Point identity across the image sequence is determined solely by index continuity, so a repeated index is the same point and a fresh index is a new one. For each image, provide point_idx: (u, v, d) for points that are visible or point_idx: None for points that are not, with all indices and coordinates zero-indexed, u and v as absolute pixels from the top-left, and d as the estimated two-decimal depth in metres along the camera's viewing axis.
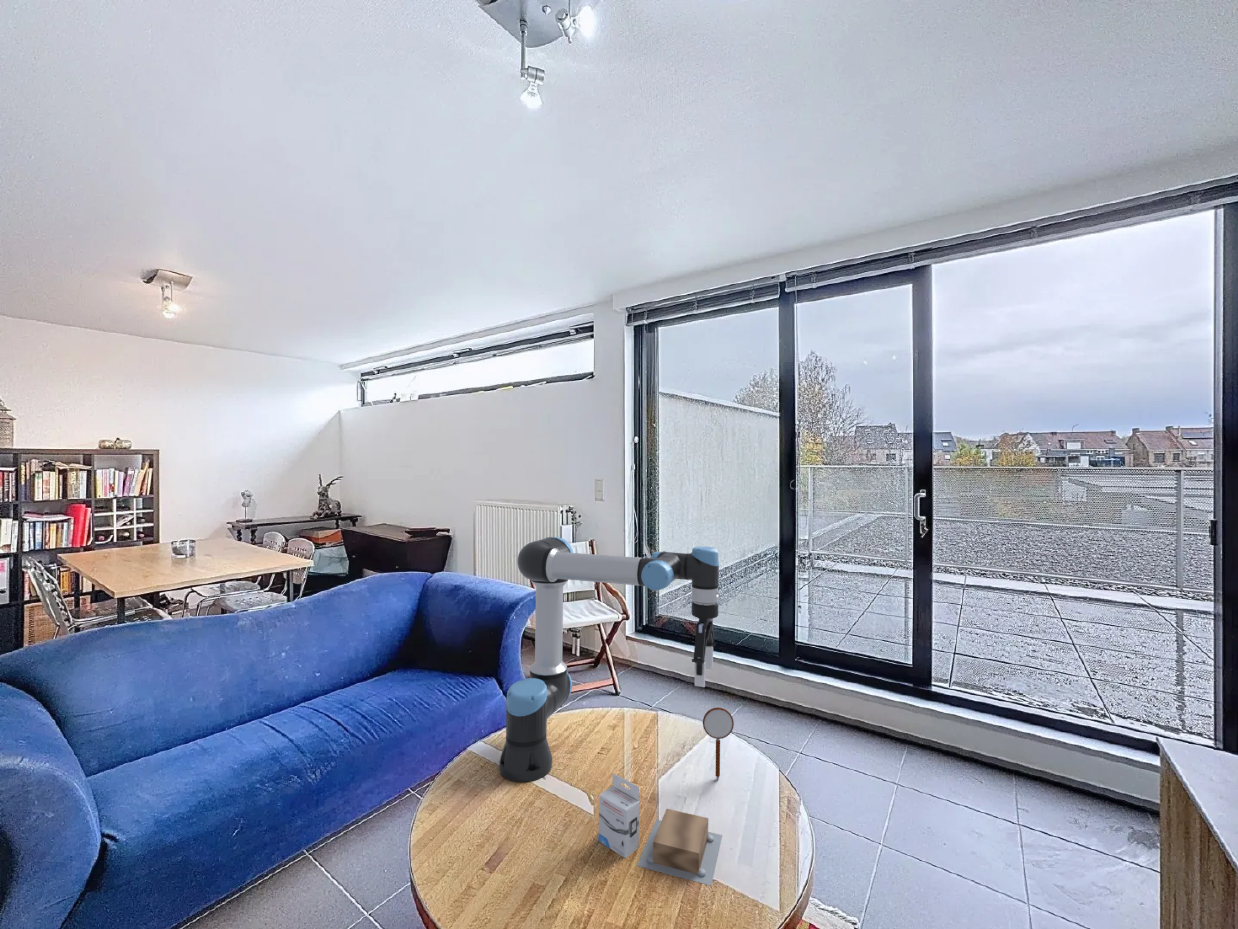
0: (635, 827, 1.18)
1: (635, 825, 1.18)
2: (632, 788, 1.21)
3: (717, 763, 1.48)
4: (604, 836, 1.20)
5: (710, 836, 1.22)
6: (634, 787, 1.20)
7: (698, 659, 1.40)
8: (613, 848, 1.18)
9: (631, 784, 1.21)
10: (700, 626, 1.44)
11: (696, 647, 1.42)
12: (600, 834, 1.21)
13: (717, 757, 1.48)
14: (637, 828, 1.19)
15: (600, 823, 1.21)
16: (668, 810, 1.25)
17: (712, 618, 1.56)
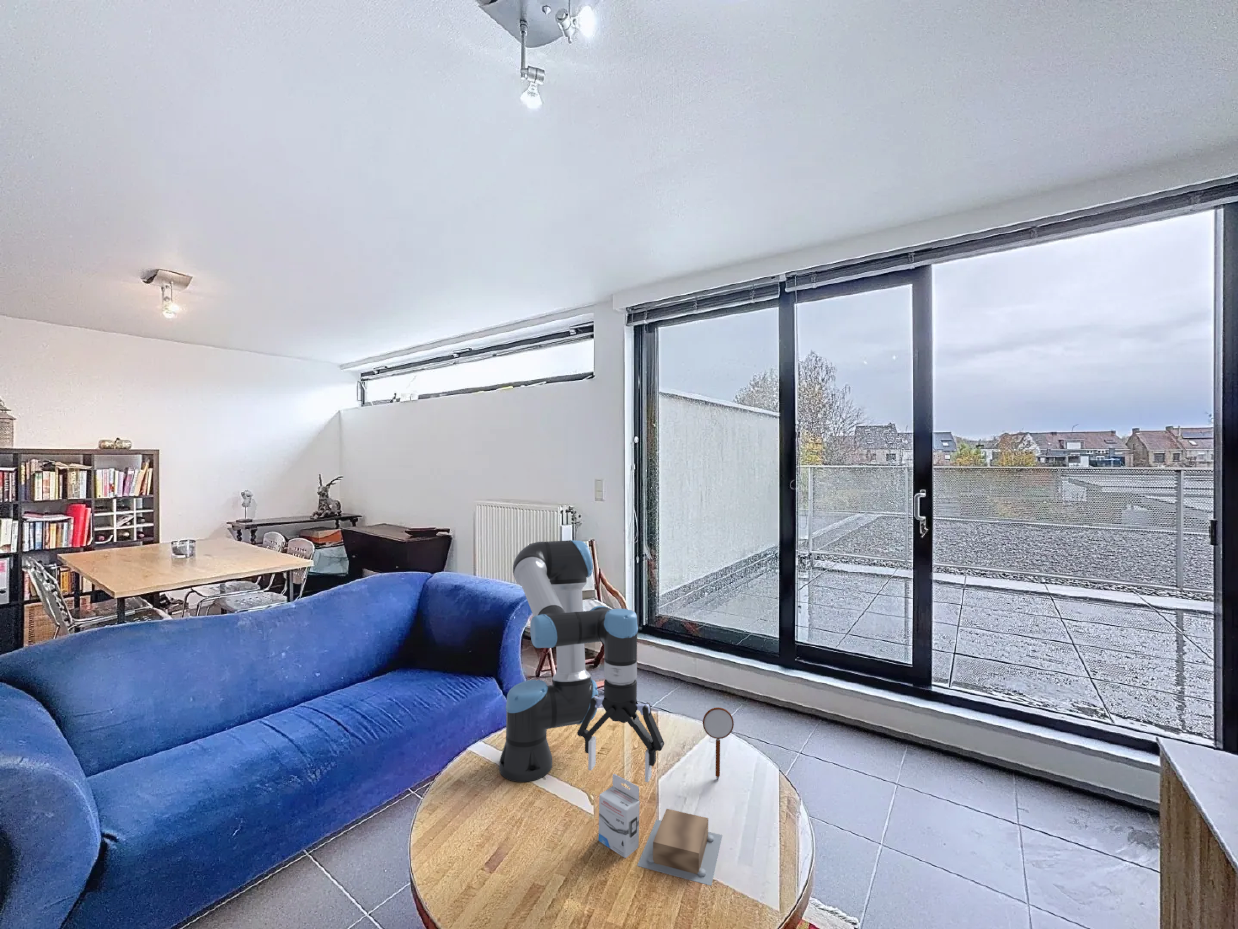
0: (635, 827, 1.18)
1: (635, 825, 1.18)
2: (632, 788, 1.21)
3: (717, 763, 1.48)
4: (604, 836, 1.20)
5: (710, 836, 1.22)
6: (634, 787, 1.20)
7: None
8: (613, 848, 1.18)
9: (631, 784, 1.21)
10: (593, 697, 1.23)
11: None
12: (600, 834, 1.21)
13: (717, 757, 1.48)
14: (637, 828, 1.19)
15: (600, 823, 1.21)
16: (668, 810, 1.25)
17: (646, 713, 1.17)
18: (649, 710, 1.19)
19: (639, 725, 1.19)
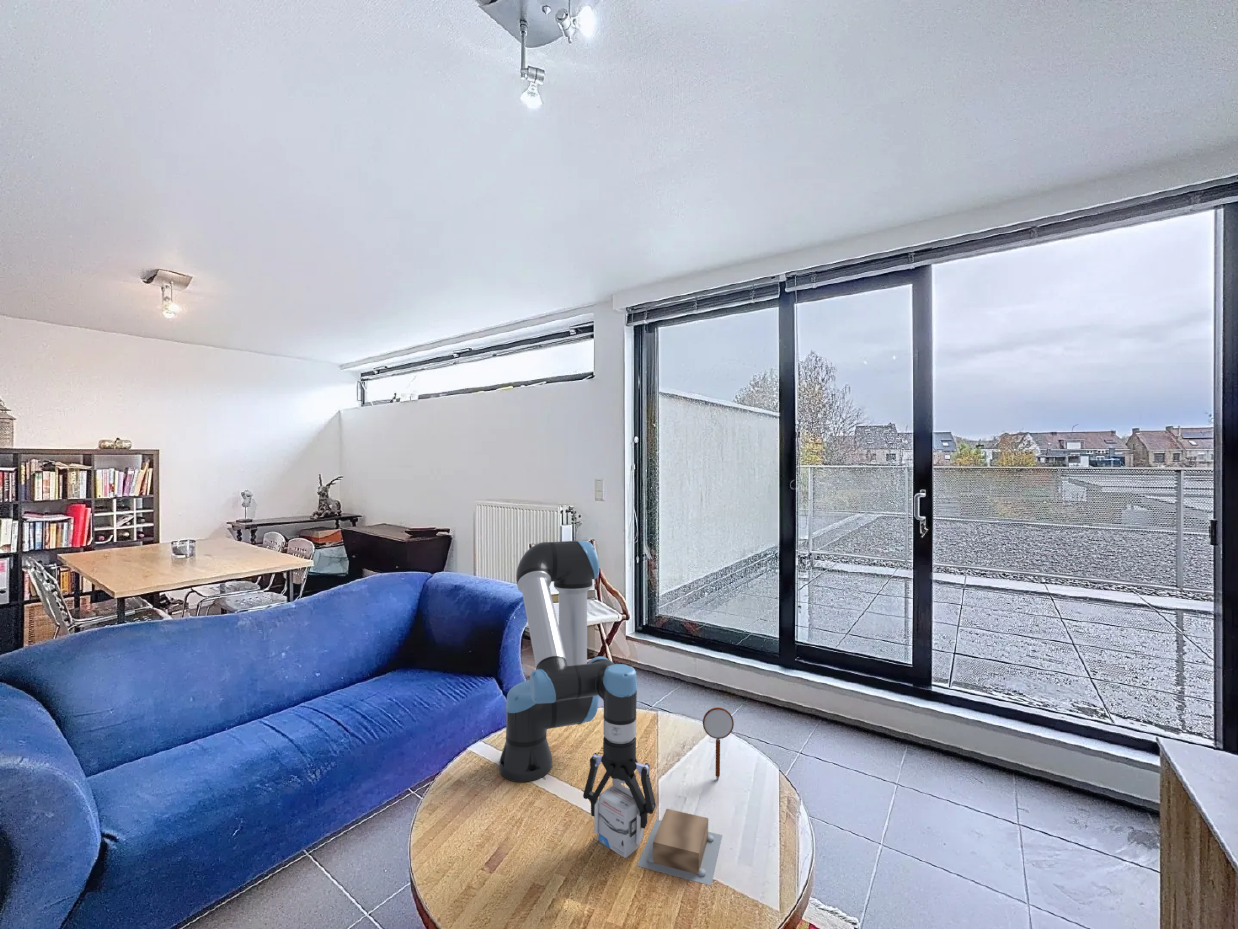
0: (635, 827, 1.18)
1: (635, 825, 1.18)
2: None
3: (717, 763, 1.48)
4: (604, 836, 1.20)
5: (710, 836, 1.22)
6: None
7: None
8: (613, 848, 1.18)
9: None
10: (592, 756, 1.23)
11: None
12: (600, 834, 1.21)
13: (717, 757, 1.48)
14: None
15: (600, 823, 1.21)
16: (668, 810, 1.25)
17: (644, 775, 1.17)
18: (648, 772, 1.19)
19: (635, 785, 1.19)
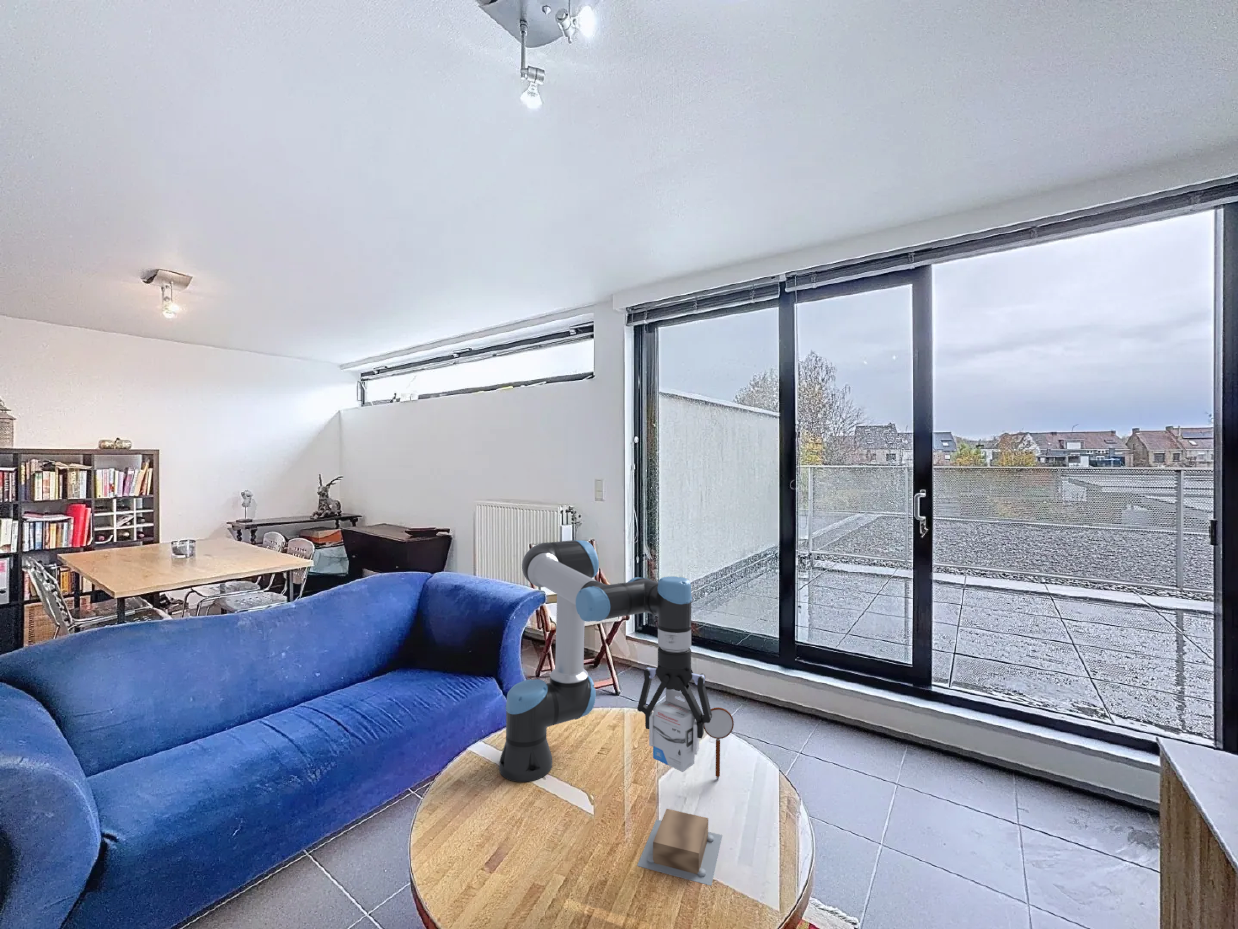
0: (691, 737, 1.17)
1: (691, 736, 1.17)
2: None
3: (717, 763, 1.48)
4: (659, 748, 1.18)
5: (710, 836, 1.22)
6: None
7: None
8: (669, 759, 1.17)
9: None
10: None
11: None
12: (655, 746, 1.19)
13: (717, 757, 1.48)
14: None
15: (655, 735, 1.19)
16: (668, 810, 1.25)
17: (701, 684, 1.16)
18: (704, 682, 1.17)
19: (691, 696, 1.17)
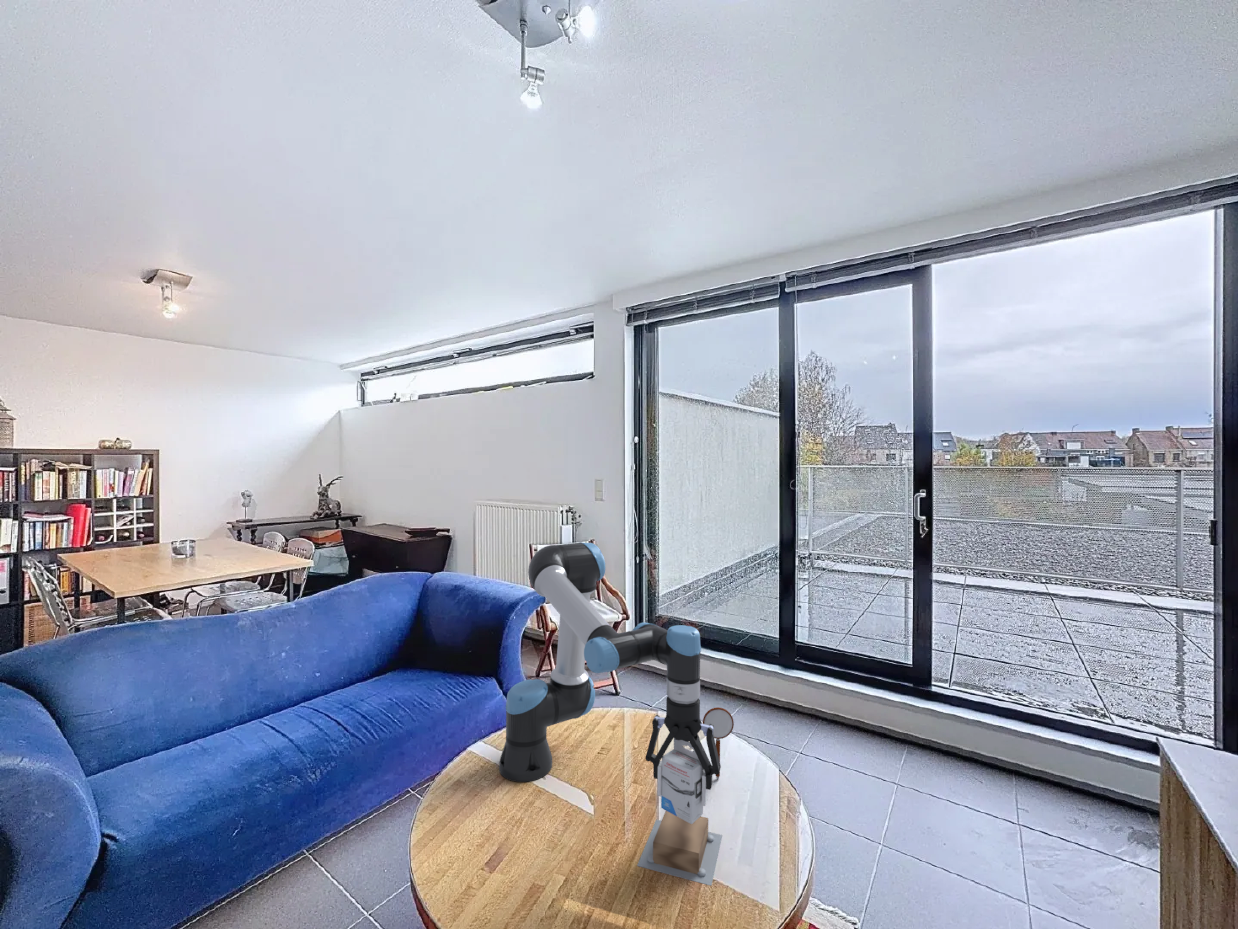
0: (700, 788, 1.17)
1: (700, 787, 1.17)
2: None
3: None
4: (668, 798, 1.18)
5: (710, 836, 1.22)
6: None
7: None
8: (678, 810, 1.16)
9: None
10: None
11: None
12: (663, 796, 1.19)
13: None
14: None
15: (663, 785, 1.19)
16: None
17: (710, 735, 1.16)
18: (712, 733, 1.17)
19: (700, 746, 1.17)
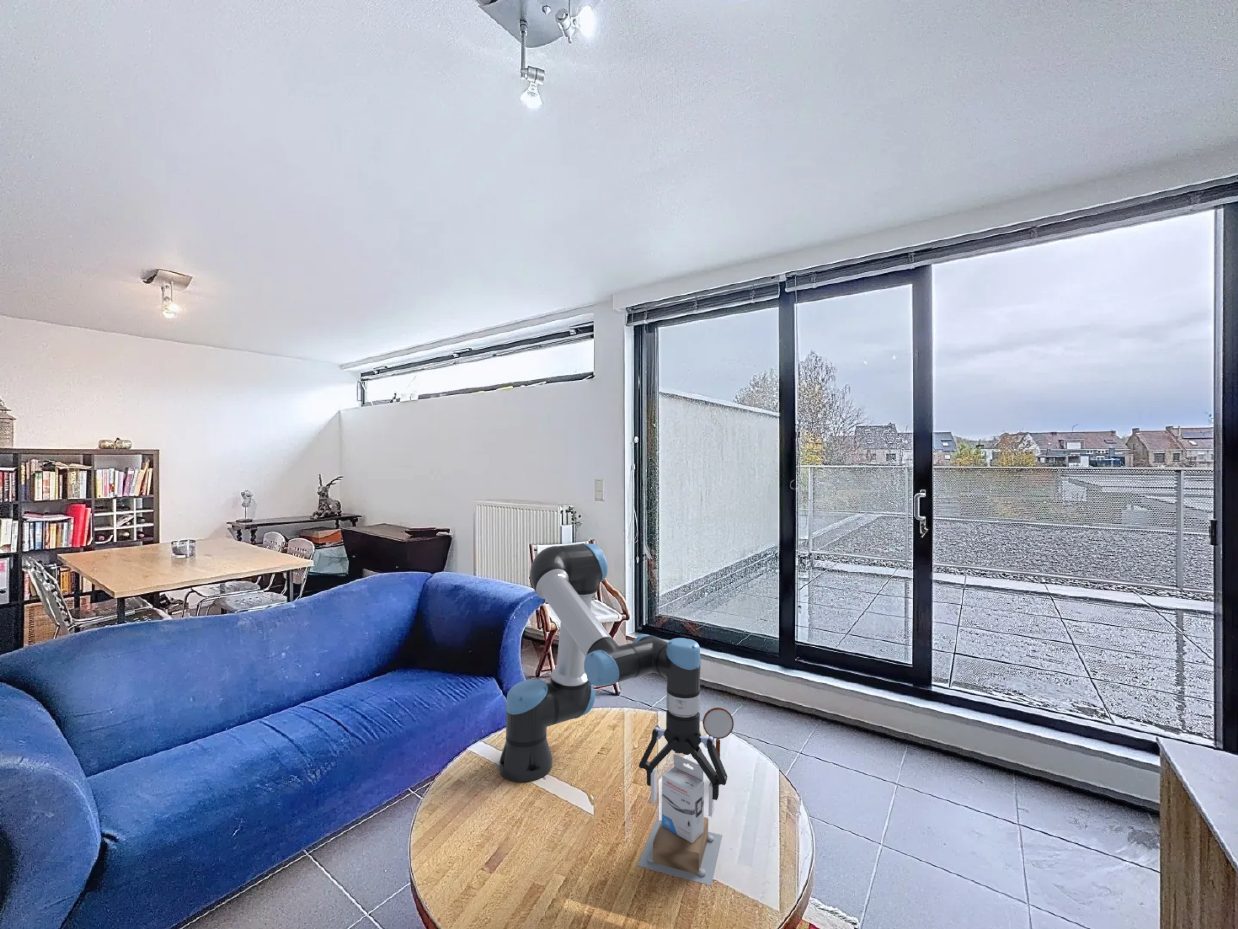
0: (700, 807, 1.17)
1: (700, 805, 1.17)
2: (696, 768, 1.19)
3: None
4: (668, 817, 1.18)
5: (710, 836, 1.22)
6: (698, 767, 1.18)
7: None
8: (678, 828, 1.16)
9: (694, 764, 1.19)
10: (654, 728, 1.21)
11: None
12: (664, 815, 1.19)
13: None
14: (702, 808, 1.17)
15: (663, 804, 1.19)
16: None
17: (710, 746, 1.16)
18: (713, 743, 1.17)
19: (702, 758, 1.17)
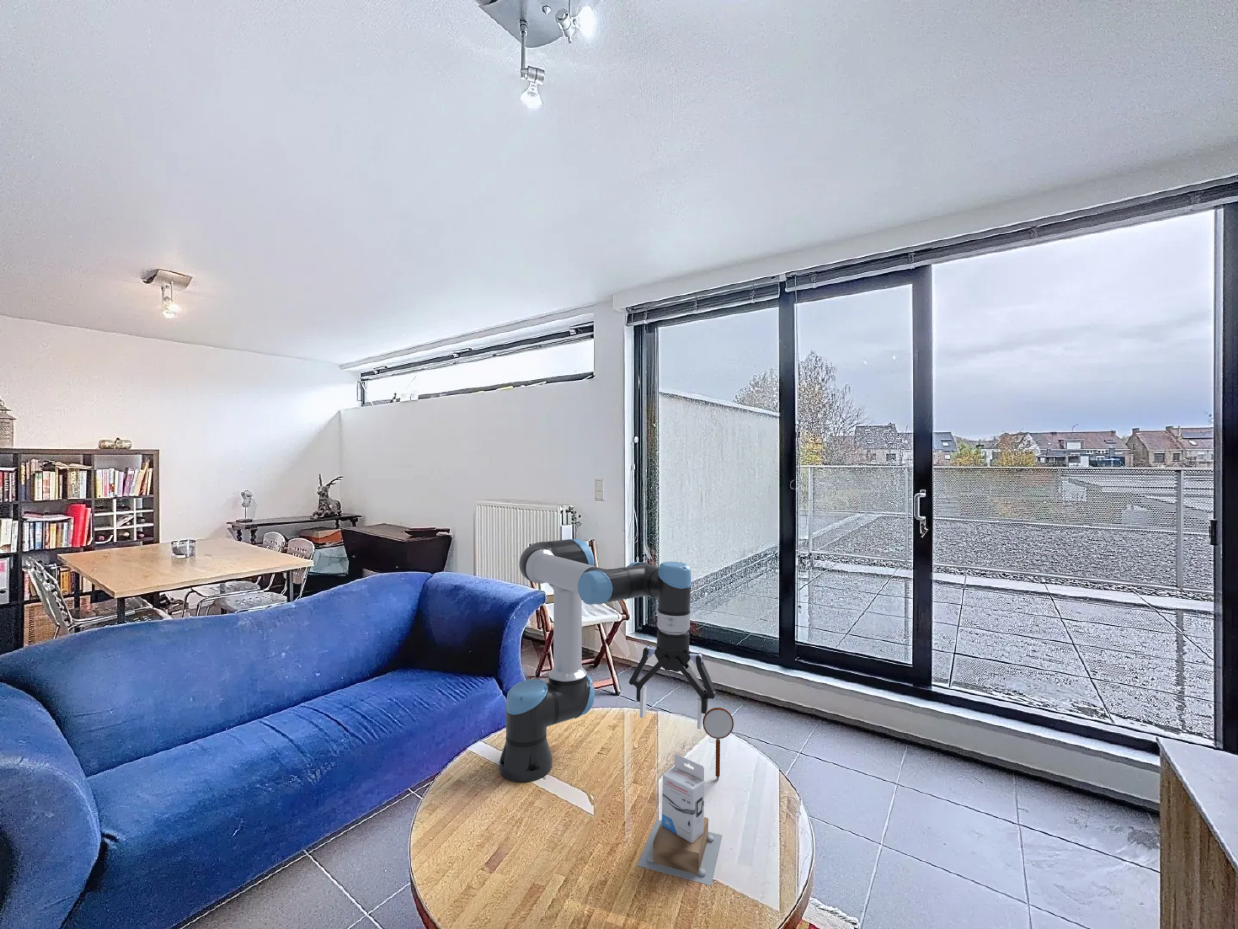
0: (701, 807, 1.17)
1: (701, 805, 1.17)
2: (696, 768, 1.19)
3: (717, 763, 1.48)
4: (668, 816, 1.18)
5: (710, 836, 1.22)
6: (698, 767, 1.19)
7: None
8: (678, 828, 1.17)
9: (695, 764, 1.19)
10: (645, 647, 1.25)
11: None
12: (664, 815, 1.19)
13: (717, 757, 1.48)
14: (703, 808, 1.17)
15: (664, 803, 1.19)
16: None
17: (699, 662, 1.20)
18: (702, 660, 1.21)
19: (692, 674, 1.21)
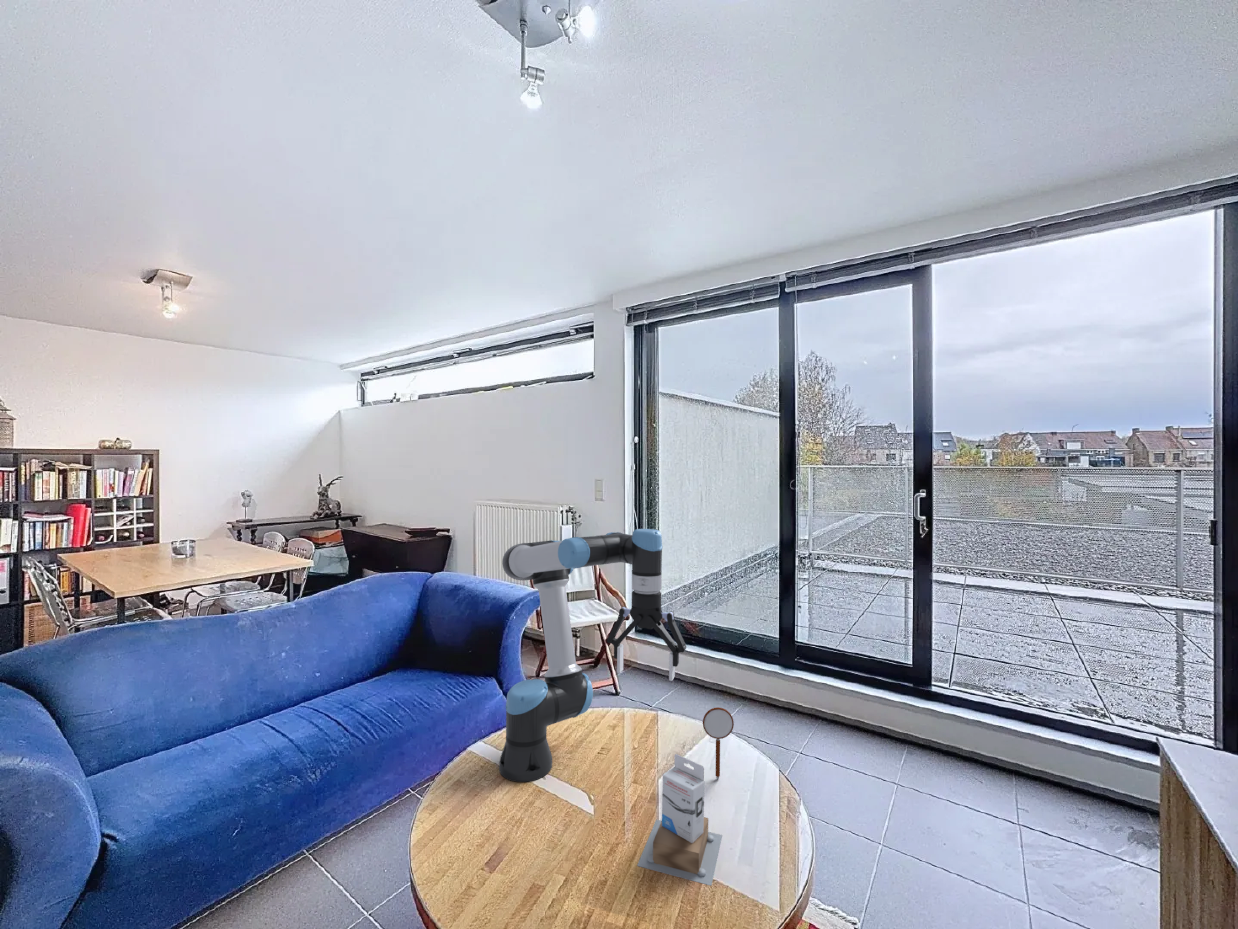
0: (701, 807, 1.17)
1: (701, 805, 1.17)
2: (696, 768, 1.19)
3: (717, 763, 1.48)
4: (668, 816, 1.18)
5: (710, 836, 1.22)
6: (698, 767, 1.19)
7: None
8: (678, 828, 1.16)
9: (695, 764, 1.19)
10: (621, 608, 1.36)
11: None
12: (664, 815, 1.19)
13: (717, 757, 1.48)
14: (703, 808, 1.17)
15: (664, 803, 1.19)
16: None
17: (670, 619, 1.30)
18: (673, 617, 1.31)
19: (664, 631, 1.32)
